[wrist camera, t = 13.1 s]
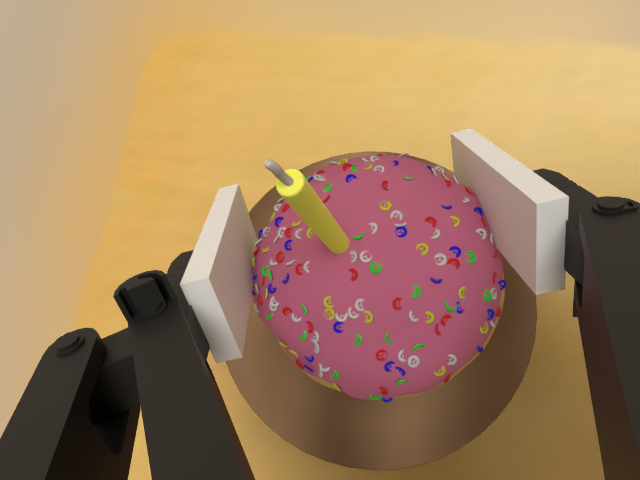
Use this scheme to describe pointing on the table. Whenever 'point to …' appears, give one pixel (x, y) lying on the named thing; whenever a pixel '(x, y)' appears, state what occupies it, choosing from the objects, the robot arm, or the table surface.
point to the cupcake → (378, 275)
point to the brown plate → (376, 415)
